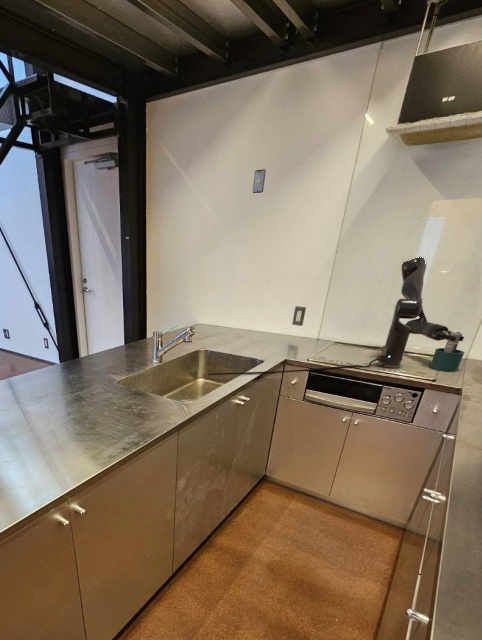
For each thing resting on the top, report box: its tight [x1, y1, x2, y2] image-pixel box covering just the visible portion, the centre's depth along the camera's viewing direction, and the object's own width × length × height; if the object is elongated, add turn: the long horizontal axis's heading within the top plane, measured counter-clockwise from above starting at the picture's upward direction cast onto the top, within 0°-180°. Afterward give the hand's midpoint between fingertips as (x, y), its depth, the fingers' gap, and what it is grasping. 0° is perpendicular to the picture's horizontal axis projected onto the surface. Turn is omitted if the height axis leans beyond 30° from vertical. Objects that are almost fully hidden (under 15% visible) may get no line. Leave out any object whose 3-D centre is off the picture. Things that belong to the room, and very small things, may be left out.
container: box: [444, 332, 462, 353], centre depth 190 cm, size 5×5×15 cm
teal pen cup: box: [430, 347, 465, 372], centre depth 192 cm, size 12×12×9 cm
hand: (458, 339), depth 185 cm, fingers closed on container, 3 cm apart
